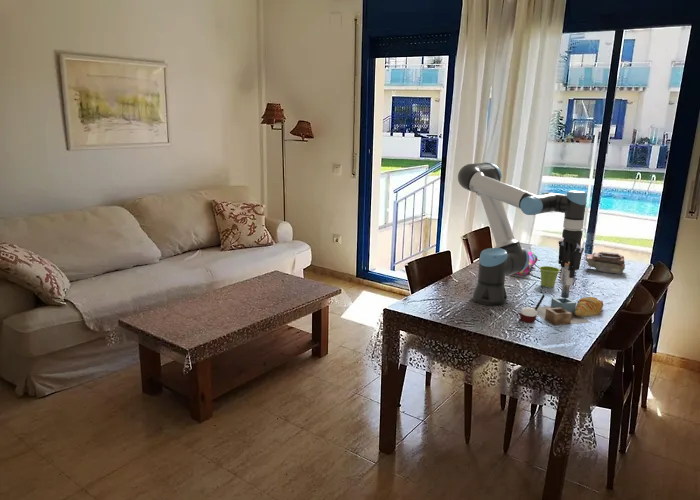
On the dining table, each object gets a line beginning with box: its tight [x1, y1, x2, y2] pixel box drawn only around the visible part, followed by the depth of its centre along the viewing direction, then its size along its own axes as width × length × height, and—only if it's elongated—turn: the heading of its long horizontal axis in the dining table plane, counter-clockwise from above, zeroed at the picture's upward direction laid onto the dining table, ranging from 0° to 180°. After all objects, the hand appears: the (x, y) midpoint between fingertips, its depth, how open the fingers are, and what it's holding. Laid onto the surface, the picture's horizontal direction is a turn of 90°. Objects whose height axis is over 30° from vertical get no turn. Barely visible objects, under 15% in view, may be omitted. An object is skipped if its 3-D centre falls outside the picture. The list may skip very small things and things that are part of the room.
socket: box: [550, 296, 577, 314], centre depth 227 cm, size 7×7×5 cm
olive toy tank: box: [585, 251, 626, 275], centre depth 286 cm, size 13×20×10 cm, turn 59°
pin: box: [560, 261, 571, 299], centre depth 223 cm, size 3×3×15 cm
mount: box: [545, 307, 572, 324], centre depth 217 cm, size 7×7×4 cm
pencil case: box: [515, 251, 538, 276], centre depth 286 cm, size 22×9×9 cm, turn 152°
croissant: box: [574, 296, 604, 317], centre depth 228 cm, size 21×10×8 cm, turn 130°
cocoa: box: [516, 294, 546, 324], centre depth 215 cm, size 10×6×12 cm
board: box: [531, 305, 591, 327], centre depth 223 cm, size 17×20×1 cm
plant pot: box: [539, 265, 561, 288], centre depth 262 cm, size 9×9×9 cm
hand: (566, 283), depth 224 cm, fingers closed on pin, 3 cm apart
